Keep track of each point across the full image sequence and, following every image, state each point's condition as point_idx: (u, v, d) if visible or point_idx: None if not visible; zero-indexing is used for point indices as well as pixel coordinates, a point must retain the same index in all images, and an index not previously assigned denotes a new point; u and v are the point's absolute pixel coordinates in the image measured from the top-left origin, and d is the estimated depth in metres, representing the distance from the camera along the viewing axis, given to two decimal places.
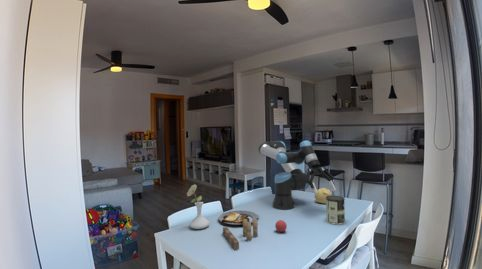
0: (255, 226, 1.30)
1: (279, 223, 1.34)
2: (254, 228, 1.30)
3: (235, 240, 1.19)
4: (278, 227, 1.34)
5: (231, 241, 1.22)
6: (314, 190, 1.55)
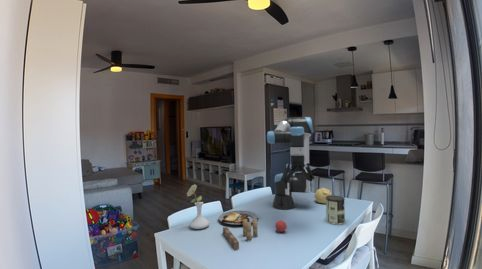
0: (255, 226, 1.30)
1: (279, 223, 1.34)
2: (254, 228, 1.30)
3: (235, 240, 1.19)
4: (278, 227, 1.34)
5: (231, 241, 1.22)
6: (286, 191, 1.37)
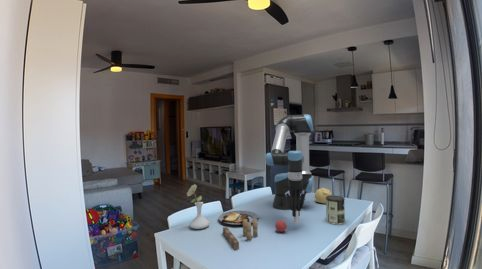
0: (255, 226, 1.30)
1: (279, 223, 1.34)
2: (254, 228, 1.30)
3: (235, 240, 1.19)
4: (278, 227, 1.34)
5: (231, 241, 1.22)
6: (294, 219, 1.39)
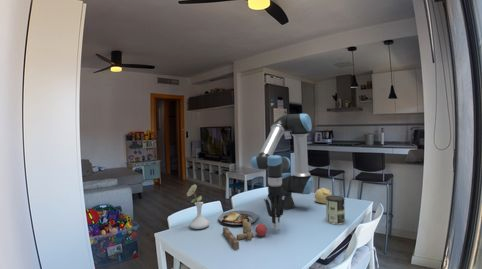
0: (243, 237, 1.28)
1: (266, 232, 1.31)
2: (245, 238, 1.28)
3: (235, 240, 1.19)
4: (266, 229, 1.31)
5: (231, 241, 1.22)
6: (274, 225, 1.35)
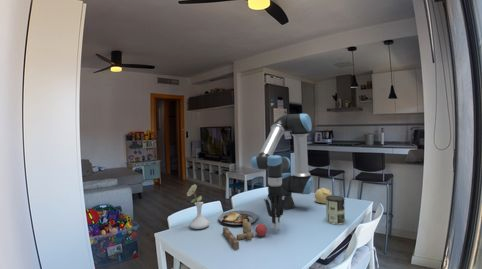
0: (243, 237, 1.28)
1: (266, 232, 1.31)
2: (245, 238, 1.28)
3: (235, 240, 1.19)
4: (266, 229, 1.31)
5: (231, 241, 1.22)
6: (274, 225, 1.35)
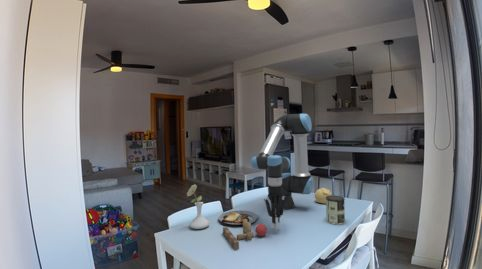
0: (243, 237, 1.28)
1: (266, 232, 1.31)
2: (245, 238, 1.28)
3: (235, 240, 1.19)
4: (266, 229, 1.31)
5: (231, 241, 1.22)
6: (274, 225, 1.35)
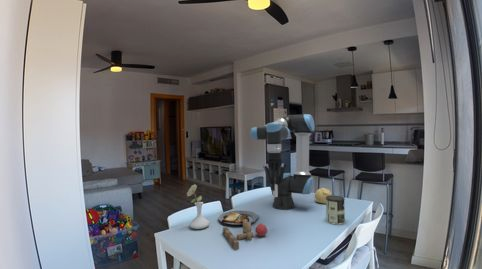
0: (243, 237, 1.28)
1: (266, 232, 1.31)
2: None
3: (235, 240, 1.19)
4: (266, 229, 1.31)
5: (231, 241, 1.22)
6: (273, 193, 1.34)
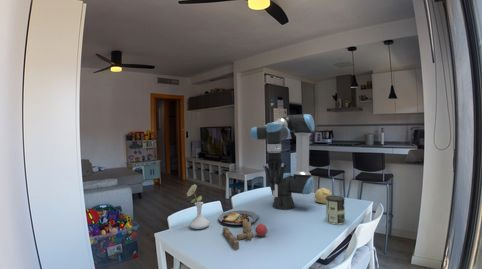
0: (243, 237, 1.28)
1: (266, 232, 1.31)
2: (245, 238, 1.28)
3: (235, 240, 1.19)
4: (266, 229, 1.31)
5: (231, 241, 1.22)
6: (273, 193, 1.34)
